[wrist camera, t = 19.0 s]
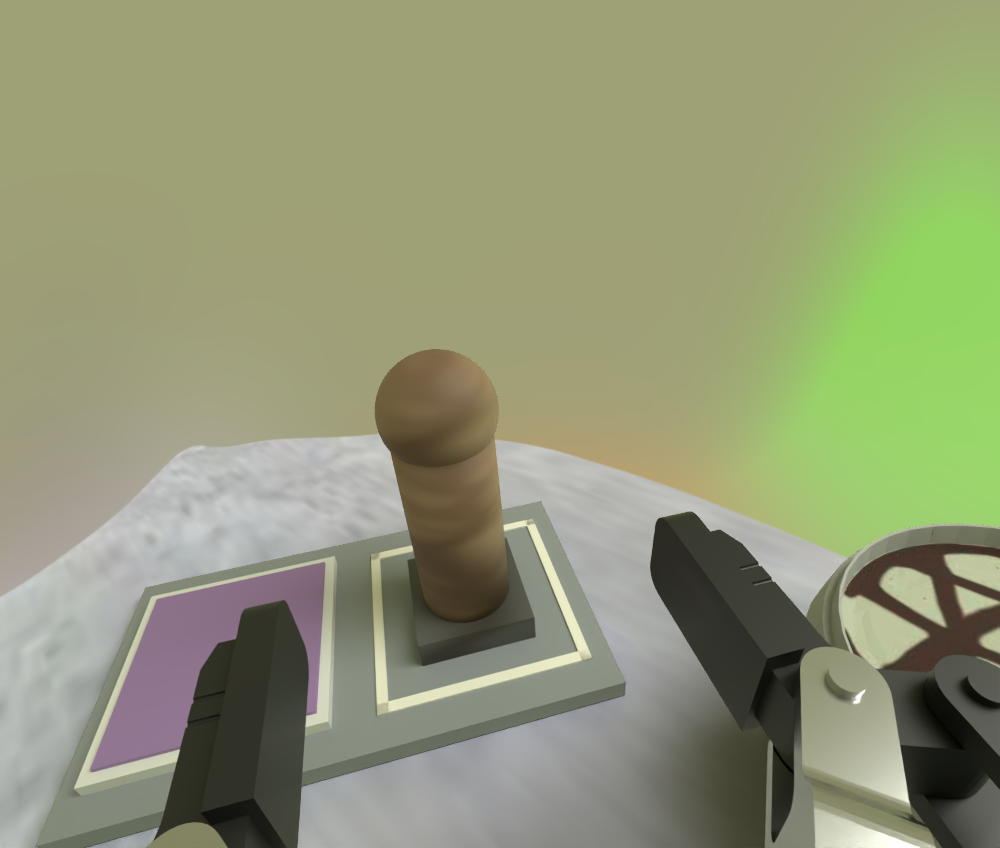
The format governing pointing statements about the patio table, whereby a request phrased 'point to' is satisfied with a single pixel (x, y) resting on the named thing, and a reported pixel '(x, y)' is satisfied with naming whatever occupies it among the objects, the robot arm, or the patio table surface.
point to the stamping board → (329, 671)
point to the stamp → (452, 505)
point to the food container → (916, 599)
